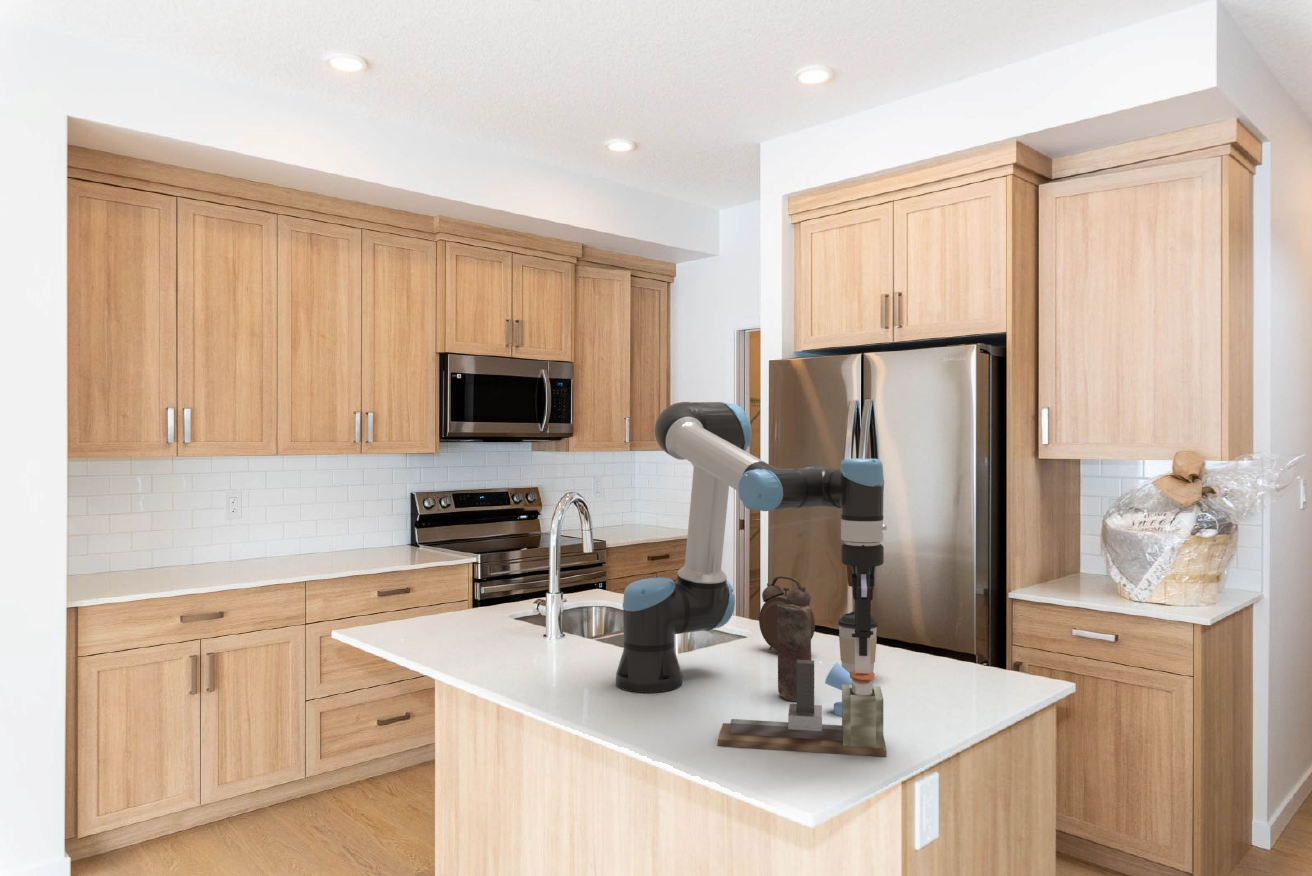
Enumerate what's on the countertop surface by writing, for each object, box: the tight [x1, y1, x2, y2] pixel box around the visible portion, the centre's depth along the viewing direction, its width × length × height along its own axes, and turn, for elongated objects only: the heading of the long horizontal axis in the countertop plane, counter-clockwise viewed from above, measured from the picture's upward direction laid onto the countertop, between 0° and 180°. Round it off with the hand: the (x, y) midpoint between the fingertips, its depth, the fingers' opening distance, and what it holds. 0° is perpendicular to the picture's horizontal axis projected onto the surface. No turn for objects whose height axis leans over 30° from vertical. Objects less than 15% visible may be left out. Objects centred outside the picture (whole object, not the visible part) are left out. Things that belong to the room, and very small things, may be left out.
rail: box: [717, 685, 888, 758], centre depth 162 cm, size 30×9×10 cm, turn 79°
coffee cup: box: [837, 610, 878, 673], centre depth 204 cm, size 9×9×15 cm
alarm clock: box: [758, 575, 816, 652], centre depth 227 cm, size 15×7×20 cm, turn 44°
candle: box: [777, 604, 812, 702], centre depth 190 cm, size 8×7×20 cm
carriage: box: [787, 659, 823, 731], centre depth 162 cm, size 6×7×12 cm
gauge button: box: [850, 670, 876, 696], centre depth 160 cm, size 4×4×8 cm
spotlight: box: [824, 662, 852, 717], centre depth 179 cm, size 5×10×7 cm
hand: (862, 672), depth 160 cm, fingers closed
